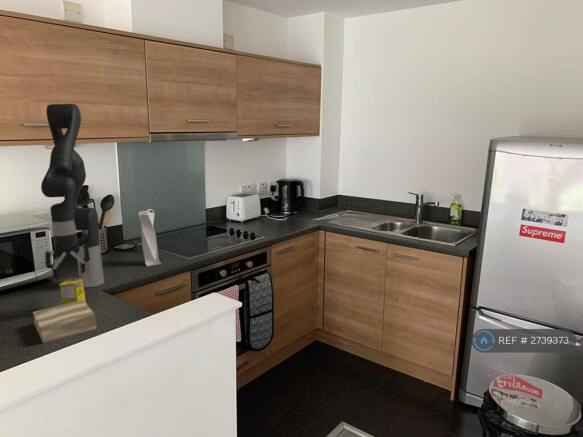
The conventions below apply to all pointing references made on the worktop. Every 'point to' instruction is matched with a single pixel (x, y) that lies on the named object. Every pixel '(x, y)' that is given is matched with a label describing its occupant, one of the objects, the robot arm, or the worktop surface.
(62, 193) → the robot arm
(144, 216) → the skyscraper
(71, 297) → the supplement box
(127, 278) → the worktop surface
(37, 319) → the oak support block
